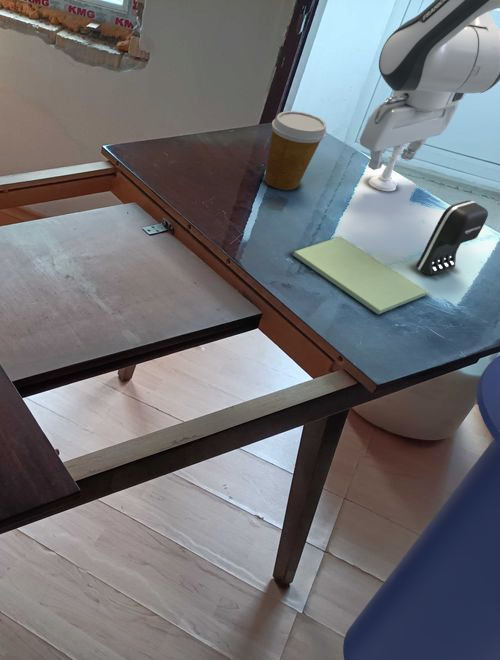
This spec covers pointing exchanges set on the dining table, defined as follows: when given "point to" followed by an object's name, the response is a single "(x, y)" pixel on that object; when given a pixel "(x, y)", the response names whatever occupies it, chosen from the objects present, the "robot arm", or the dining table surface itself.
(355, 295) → the mat
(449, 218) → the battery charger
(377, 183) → the chess piece
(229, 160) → the dining table surface
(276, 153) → the disposable coffee cup
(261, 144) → the dining table surface
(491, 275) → the dining table surface
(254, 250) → the dining table surface
